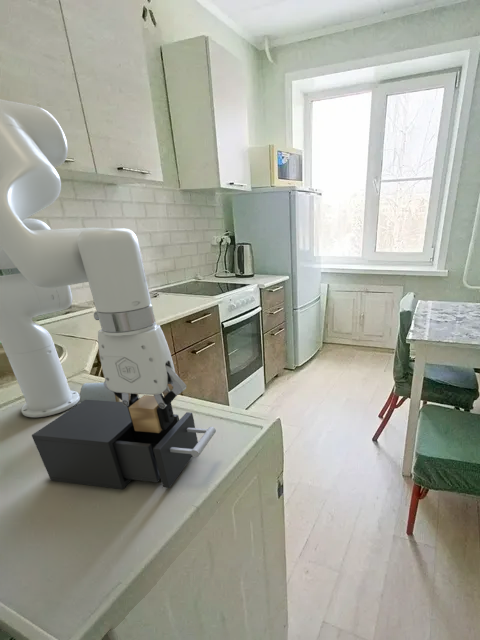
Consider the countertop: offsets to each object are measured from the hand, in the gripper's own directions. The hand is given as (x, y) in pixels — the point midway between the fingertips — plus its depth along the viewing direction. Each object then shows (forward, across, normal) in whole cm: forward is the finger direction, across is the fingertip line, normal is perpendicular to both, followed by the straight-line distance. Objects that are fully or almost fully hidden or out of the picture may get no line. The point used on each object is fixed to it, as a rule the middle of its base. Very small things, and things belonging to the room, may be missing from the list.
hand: (153, 423), depth 60 cm
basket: (+9, 0, 0) cm, 9 cm away
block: (0, 0, 0) cm, 0 cm away
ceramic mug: (+10, -26, +18) cm, 33 cm away
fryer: (+10, -12, 0) cm, 15 cm away
